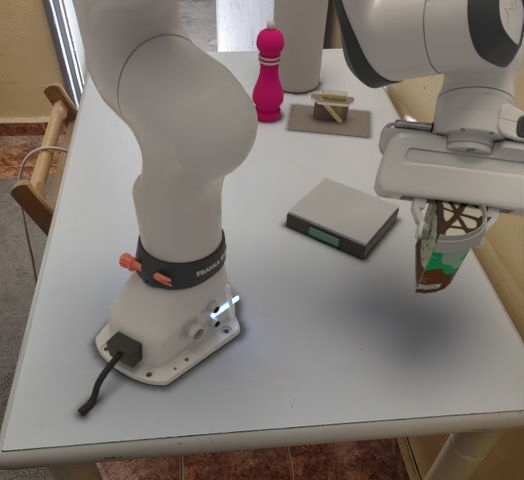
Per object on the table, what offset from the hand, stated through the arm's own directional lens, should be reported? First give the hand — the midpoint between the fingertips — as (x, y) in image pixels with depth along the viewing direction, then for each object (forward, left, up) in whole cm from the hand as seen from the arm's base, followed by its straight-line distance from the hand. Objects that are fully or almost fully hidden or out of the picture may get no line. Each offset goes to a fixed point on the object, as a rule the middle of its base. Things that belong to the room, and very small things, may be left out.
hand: (448, 242), depth 64 cm
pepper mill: (+46, +56, -19) cm, 75 cm away
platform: (+53, +43, -19) cm, 71 cm away
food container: (+1, 0, -6) cm, 6 cm away
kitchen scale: (+20, +22, -19) cm, 36 cm away
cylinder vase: (+65, +60, -19) cm, 91 cm away
